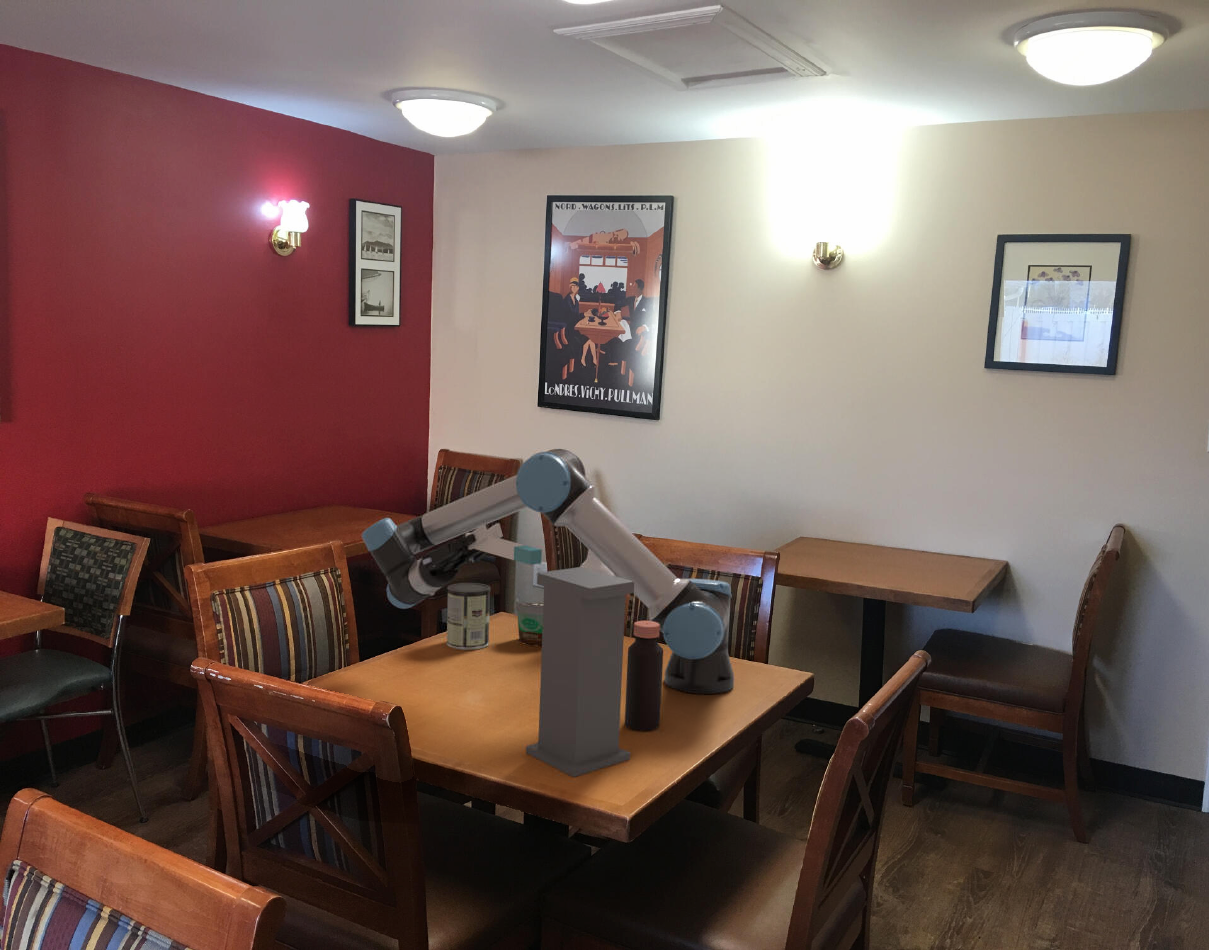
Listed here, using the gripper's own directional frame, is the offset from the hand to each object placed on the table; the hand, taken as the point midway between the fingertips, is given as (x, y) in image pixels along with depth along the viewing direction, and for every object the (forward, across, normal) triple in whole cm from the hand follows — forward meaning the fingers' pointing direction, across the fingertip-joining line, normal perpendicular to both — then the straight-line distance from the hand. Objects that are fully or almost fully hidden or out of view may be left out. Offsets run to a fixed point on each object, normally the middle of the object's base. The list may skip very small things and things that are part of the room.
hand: (492, 530), depth 194 cm
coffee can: (-53, -23, -11) cm, 58 cm away
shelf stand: (+7, +1, -45) cm, 46 cm away
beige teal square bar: (+1, 0, -5) cm, 5 cm away
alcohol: (-39, -50, -19) cm, 66 cm away
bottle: (+3, -19, -43) cm, 47 cm away
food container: (-45, -37, -15) cm, 60 cm away
